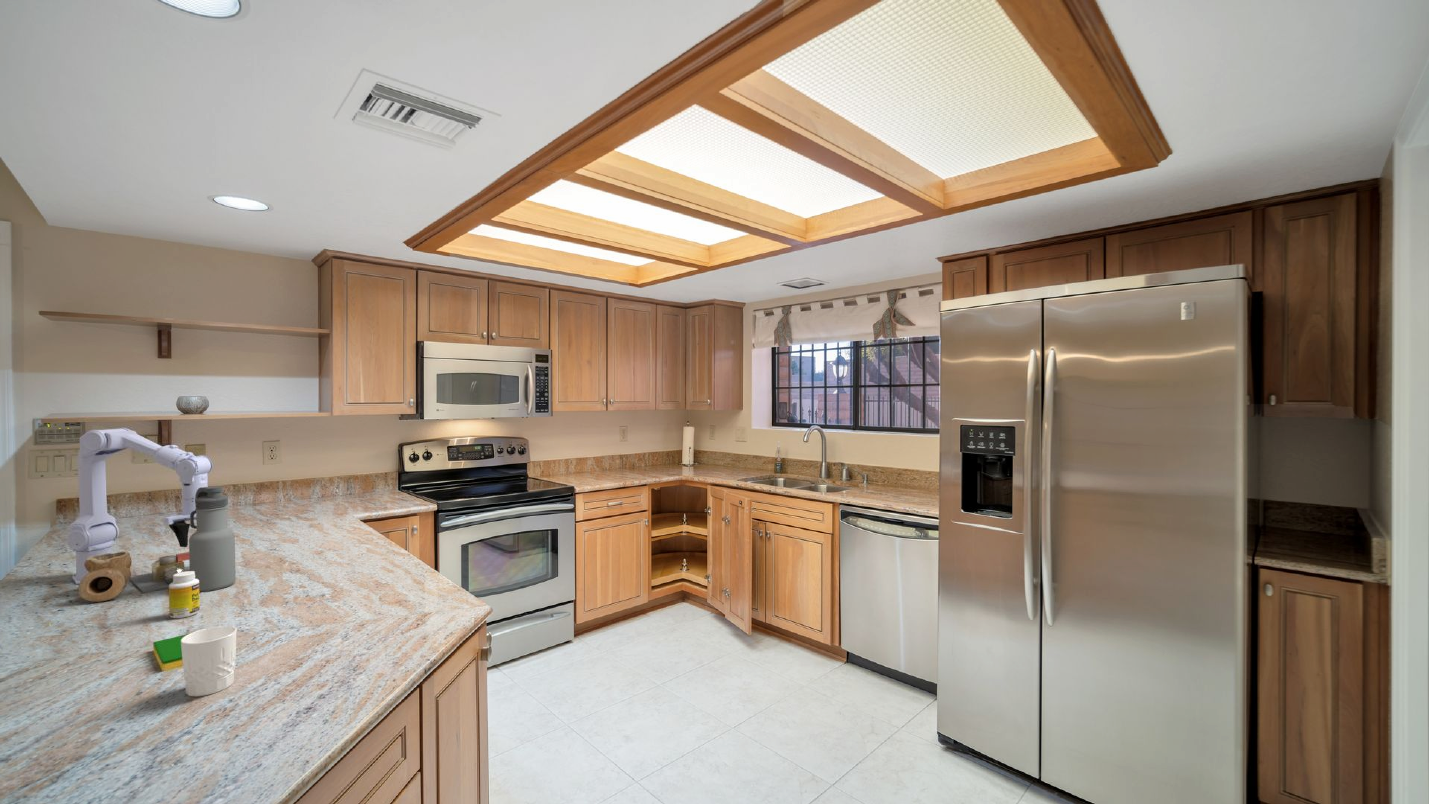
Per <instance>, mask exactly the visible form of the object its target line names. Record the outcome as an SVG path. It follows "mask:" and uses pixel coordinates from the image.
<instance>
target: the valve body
mask: <svg viewBox="0 0 1429 804" xmlns="http://www.w3.org/2000/svg"><path fill="white" fill-rule="evenodd" d="M184 567H185V562H184V561H179V562H178V561H176V562H174V563H170V564H159V559H158V560H155V561H154V562H152V563H151V573H152V578H153V579H154V580H155V581H156V582H159V581H165V582H166V583H167V584H169V585H170V584H171V583H172V582H173V575H174V574H177V573H180V572H185V571H184Z"/></svg>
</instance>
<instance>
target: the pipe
mask: <svg viewBox="0 0 1429 804" xmlns="http://www.w3.org/2000/svg"><path fill="white" fill-rule="evenodd" d="M132 562H133V561H132V558H131V554H130V552H128V551H119V552H115V553H112V554H110V553H108V554H103V555H96V556H91V557H88V558H87V559H86V562H85V564H84V565H85V568H86V570H87V571H88V572H89V573H88V574H87V575H85V576H84V577H83V578H82V580H81V581H80V584H78V593H79V596H80V598H81V599H84V600H85V601H89V602H105V601H110V600H112V599H115V598H116V597H118V596H119V595H120V594H121V592H123V591H124V588H125V585H126V584H127V583H128V582H129V581H130V577H132V573H131V566H132Z"/></svg>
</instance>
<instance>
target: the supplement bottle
mask: <svg viewBox="0 0 1429 804" xmlns="http://www.w3.org/2000/svg"><path fill="white" fill-rule="evenodd" d="M200 601H201V600H200V592H199V580H198V579H195V572H194V571H186V572H180V573H177V574H174V575H173V582H172V583H171V584H170V585H169V588H168V607H169V608H168V609H169V611H168V613H169V617H170V618H171V619H181V618H189V617H192V616H194V615H197V614H198V613H199V612H200V608H201V606H200Z"/></svg>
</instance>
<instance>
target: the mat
mask: <svg viewBox="0 0 1429 804" xmlns="http://www.w3.org/2000/svg"><path fill="white" fill-rule="evenodd" d="M184 571H185V572H186V571H190V566H189V565H188V566H184ZM129 581H130V582H131V583H133V584H134V586H135V587H137V589H138V590H139V591H140V592H141V593H143V594H145V593H149V592H150V591H151V592H156V591H161V590H165V588H166V589H169V584H167V583H166V582H165V581H159V582H156V581H155V580H154V579H153V578H152V572H150V573H144V574H140V575H134V576H131V577H130V579H129ZM151 592H150V593H151Z"/></svg>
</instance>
